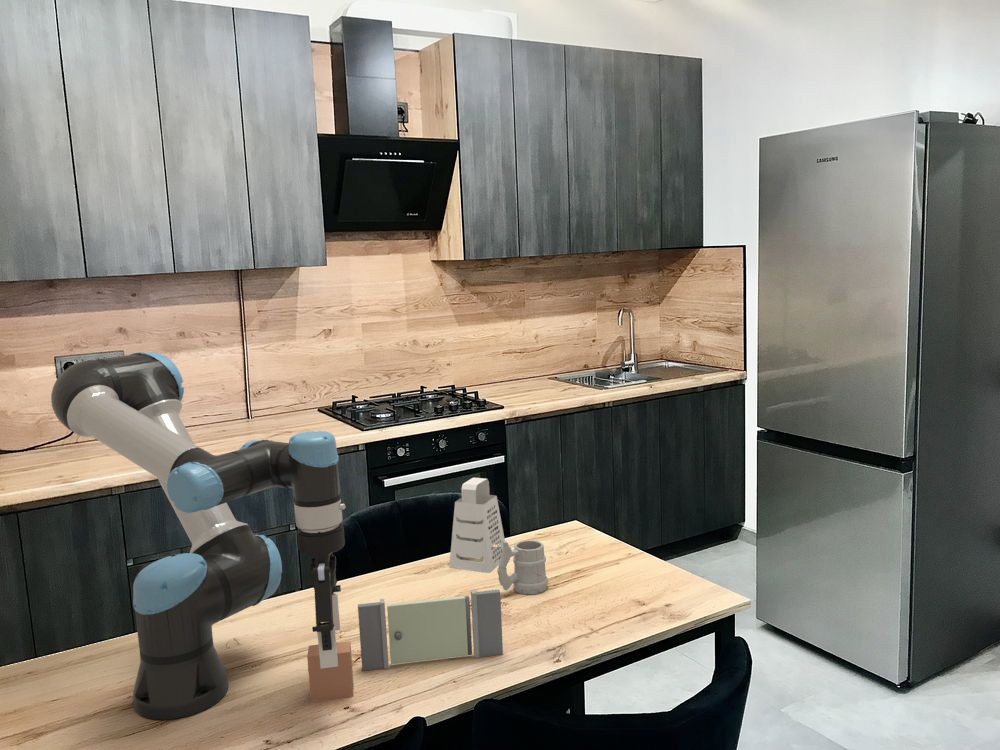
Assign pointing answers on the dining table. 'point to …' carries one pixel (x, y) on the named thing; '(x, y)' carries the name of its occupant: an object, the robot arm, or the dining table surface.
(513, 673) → the dining table surface
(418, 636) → the door
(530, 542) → the mug
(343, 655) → the orange brown rectangular block
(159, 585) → the robot arm
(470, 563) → the grater
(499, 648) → the frame
